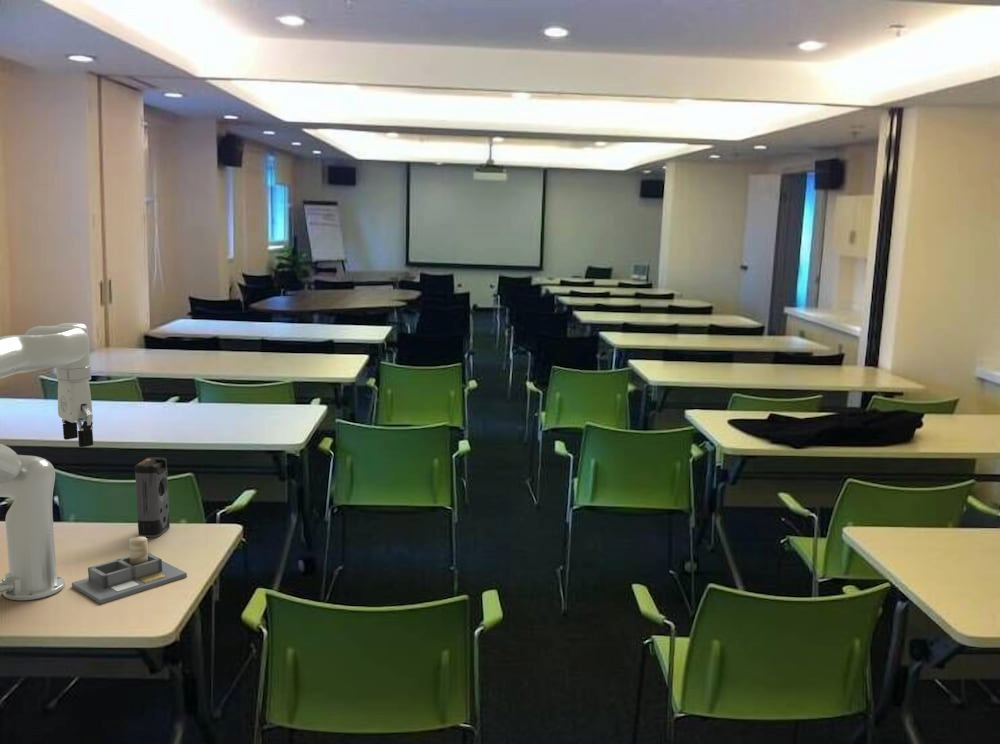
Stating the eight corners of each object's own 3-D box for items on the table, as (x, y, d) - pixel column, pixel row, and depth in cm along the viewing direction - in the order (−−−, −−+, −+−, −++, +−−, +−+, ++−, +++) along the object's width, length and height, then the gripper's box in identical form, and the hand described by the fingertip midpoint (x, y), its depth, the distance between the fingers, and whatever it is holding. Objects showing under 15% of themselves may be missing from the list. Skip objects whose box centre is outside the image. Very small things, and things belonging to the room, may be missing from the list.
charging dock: (100, 604, 196) (99, 587, 195) (71, 586, 204) (70, 570, 204) (186, 576, 211) (186, 561, 211) (156, 561, 220) (156, 546, 220)
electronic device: (158, 538, 237) (154, 466, 233) (136, 537, 237) (132, 465, 233) (171, 526, 246) (168, 457, 243) (150, 526, 246) (147, 456, 243)
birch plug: (135, 575, 209) (134, 543, 208) (127, 571, 211) (126, 539, 210) (151, 571, 212) (150, 539, 211) (143, 566, 214) (142, 535, 213)
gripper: (44, 371, 217) (49, 438, 220) (71, 380, 205) (76, 451, 208) (76, 367, 222) (80, 433, 225) (103, 377, 210) (108, 446, 213)
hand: (78, 442), depth 217 cm, fingers open, 9 cm apart
